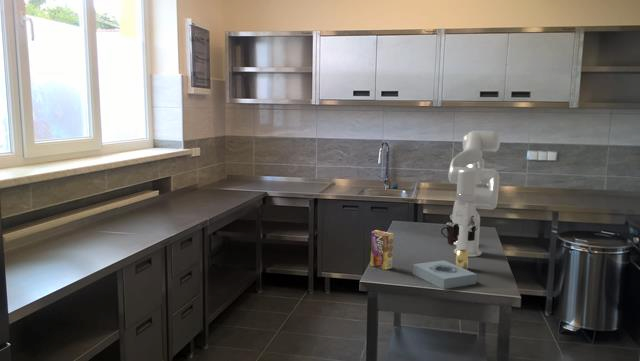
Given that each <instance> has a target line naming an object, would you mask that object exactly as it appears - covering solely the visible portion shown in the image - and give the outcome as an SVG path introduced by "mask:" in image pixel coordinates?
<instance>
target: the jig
mask: <svg viewBox="0 0 640 361" xmlns="http://www.w3.org/2000/svg"><path fill="white" fill-rule="evenodd" d="M477 274H478V273H475V272H472V270H471V271H470V270H469V269H467V270H466V269H464V268H461V267H459V266H456V264H454V263H452V262H449V261H448V260H444V259H443V260H436V261H428V262H421V263H413V264H412V275H414V276H416V277H419V278H421V279H422V280H424V281H427V282H428V283H430V284H432V285H434V286H436V287H438V288H440V289H443V290H446V289H453V288H458V287H466V286H471V285H476V284H477V278H478V276H477Z"/></svg>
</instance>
